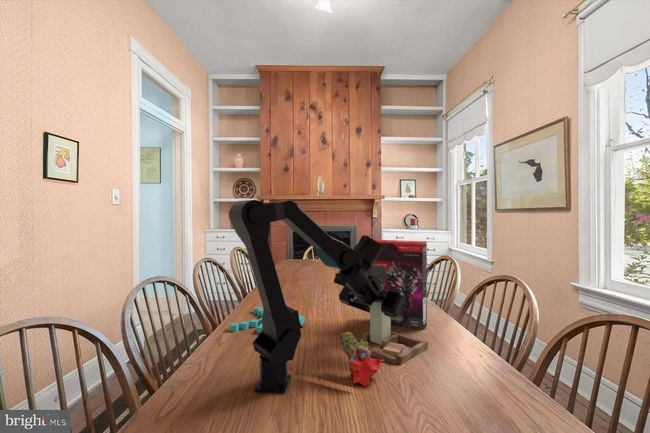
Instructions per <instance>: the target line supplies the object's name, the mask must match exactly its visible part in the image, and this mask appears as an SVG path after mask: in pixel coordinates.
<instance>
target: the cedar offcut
mask: <svg viewBox="0 0 650 433" xmlns="http://www.w3.org/2000/svg"><path fill="white" fill-rule="evenodd" d="M382 348H383V349H382V352H383V353H386V354H388V355H391V356H394V357H397V355H399V354H401V353H403V352H405V351H406V350H405V349H406V346H405V344H401V343H398V342H397V343H392V342H389V343H388V344H387V345H386V346H385V347H382Z"/></svg>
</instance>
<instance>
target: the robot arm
mask: <svg viewBox="0 0 650 433" xmlns="http://www.w3.org/2000/svg"><path fill="white" fill-rule="evenodd" d="M228 218H229V221H230V223H231V225H232V228H233V229H234V232H235V233H236V236H237V237H238V238H239V239H240V241H241V242H242V244H243V245H244V246H245V249H246V252H247V253H246V254H247V255H248V260H249V263H250V266H251V269H252V272H253V273H252V274H253V276H254V277H253V278H254V280H255V283H256V287H257V291H258V293H259V297H260V300H261V305H262V309H263V315H262V328H263V330H262V331H261V332H260V334H258V335H257V336H256V337H255V339H254V341H252V344H251V345H252V348H253V350H254V352H256V353H258V354H259V379H258V381H257V383H256V385H255V387H254V389H253V390H254V392H256V393H272V394H273V393H274V394H275V393H276V394H285V393H287V390H288V387H289V384H290V383H291V380H292V375H291V374H288V362H290V361H293V360H294V358H295V354H296V351H297V348H298V344H299V342H300V340H301V338H302V330H301V329H303V328H304V327H303V324H302V325H301V324H300V320H299V314H300V313H299V311H298V310H297V309H295V308H292V307H290V306H288V305H287V304H286V301H285V298H284V295H283V294H284V293H283V290H282V287H281V283H280V279H279V275H278V273H277V267H276V264H275V260H274V258H273V254H272V250H271V246H270V242H269V239H270V233H271V223H273V222H278V221H283V223H284V224H286V225H287V226H288V227H289V228H290V229H292V230H293V231H294V232H295V233H296V234H297V235H298V236H300V237H301V238H302V239H303V240H304V241H306V242H307V244H308V245H310V246H311V247H312V248H313V249H314V250H315V253H316V255H317V257H318V259H319V260H320V261H321V262H322V264H324V266H325V267H328V268H331V269H337V270H339V271H338V272H336V273H335V277H334V278H333V283H334V284H336V285H339V286H342V289H341V291H340V293H339V294H338V300H339V301H340V302H341V304H344V305H346V306H349V307H352V308H354V309H358V310H360V311H363V312H366V313H369V314H370V306H371V305H372V303H374V302H379V303H382V304H381V311H382V312H383V313H384V315H385V316H388V317H390V318H392V319H394V320H398V318H399V313H400V311H401V309H402V307H403V305H404V302H405V300H406V297H405V295H404V294H403V292H399V291H394V290H389V291H388V292H387V294H382V293H379V291H381V289H382V286H381V284H382V283H383V282H384V281H385V280H386V279H388V275H387V272H386V268H385V267H383V266H376V265H373V264H374V263H375V261H376V260H377V258H378V257H379V255H380V254H381V252H382V250H383V247H382V245H381V244H380V243H378V242H377V241H375V240H376V239H373V238H371V237H370V235H365V234H363V235H362V236H361V237H360V239H359V241H358V242H357V244H355V247H354V248H352V247H351V246H350V245H348V244H346V243H344V242H343V241H340V240H338V239H336V238H334V237H332V236H330V235H329V234H328V233H327V232H326V231H325V230H324V229H323V228H321V227H320V225H318V224H317V223H316V222H315V221H314V220H313V219H312V218H311V217H310V216H309V215H308V214H306V213H305V211H303V209H301V208H300V207H299V205H298V204H297V203H296V202H295V201H294V200H292V199H287V200H286V199H283V200H278V201H273V202H263V201H261V200H258V199H249V200H248V199H247V200H245V199H244V200H238V201H236V202H234V203H233V204H232V205H231V207H230V209H229V210H228Z"/></svg>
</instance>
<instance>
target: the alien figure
mask: <svg viewBox="0 0 650 433" xmlns="http://www.w3.org/2000/svg"><path fill="white" fill-rule="evenodd" d="M253 314H256V316H257V317H260V318H259V319H256V318H255V319H253V318H252V319H251V320H250V321H246V320H242V321H241V322H239V323H238V322H232V323H231V324H230V325H229V332H233V333H234V332H238V331H240V330H244V329H245V330H246V329H247V330H248V329H249V328H253V327H256V334H258V333H260V332H261V331H262V330H263V328H262V315H263V306H256V307H254V308H253ZM298 314H299V320H300V324H301V325H302V326H303V324H304V323H305V315H301V314H300V313H298ZM247 330H246V331H247Z"/></svg>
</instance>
